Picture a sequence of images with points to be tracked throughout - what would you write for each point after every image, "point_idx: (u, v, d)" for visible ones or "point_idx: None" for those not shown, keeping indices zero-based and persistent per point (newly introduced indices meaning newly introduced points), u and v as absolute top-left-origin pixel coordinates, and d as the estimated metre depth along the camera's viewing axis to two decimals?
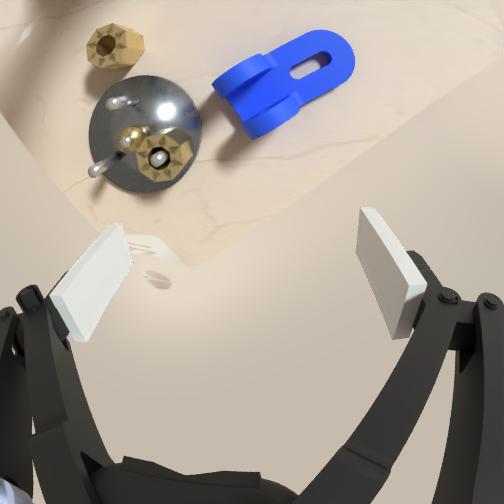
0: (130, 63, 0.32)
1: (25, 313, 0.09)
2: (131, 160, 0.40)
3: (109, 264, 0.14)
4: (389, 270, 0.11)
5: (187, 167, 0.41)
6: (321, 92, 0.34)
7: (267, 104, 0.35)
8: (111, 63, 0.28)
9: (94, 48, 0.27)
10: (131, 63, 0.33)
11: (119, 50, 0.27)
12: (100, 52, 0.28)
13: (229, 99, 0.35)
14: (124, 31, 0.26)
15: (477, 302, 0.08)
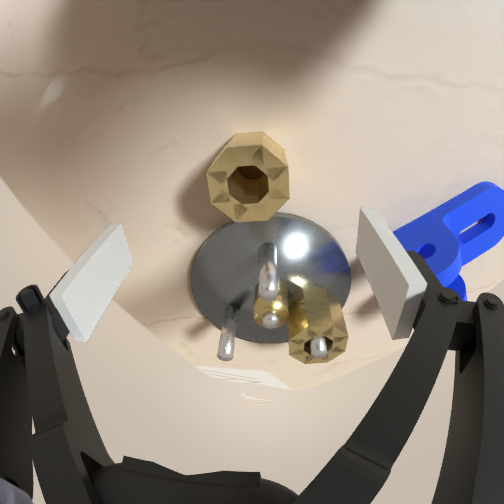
0: None
1: (25, 313, 0.09)
2: None
3: (109, 264, 0.14)
4: (389, 270, 0.11)
5: None
6: (475, 256, 0.28)
7: None
8: (258, 219, 0.23)
9: (224, 184, 0.22)
10: None
11: (274, 200, 0.22)
12: (230, 187, 0.23)
13: None
14: (286, 168, 0.21)
15: (477, 302, 0.08)
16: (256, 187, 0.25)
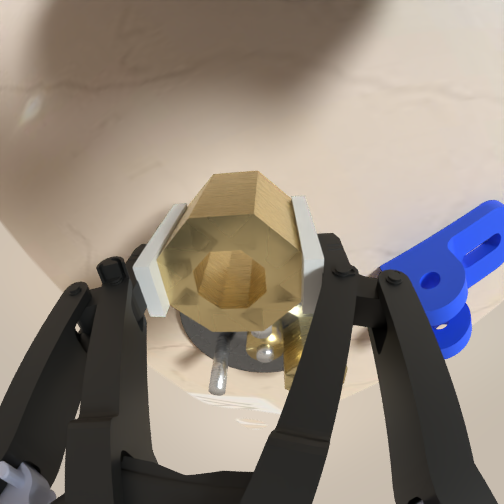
0: None
1: (104, 284, 0.11)
2: None
3: None
4: None
5: None
6: (480, 278, 0.27)
7: None
8: (249, 328, 0.14)
9: (188, 279, 0.13)
10: None
11: (276, 304, 0.13)
12: (201, 277, 0.14)
13: None
14: (298, 255, 0.12)
15: (378, 282, 0.10)
16: (247, 264, 0.16)
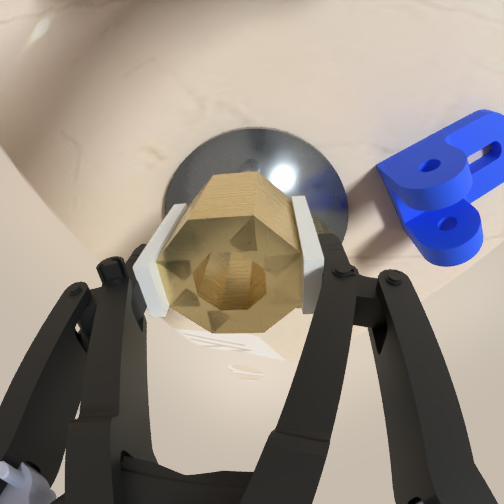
0: None
1: (104, 284, 0.11)
2: None
3: None
4: None
5: None
6: (485, 191, 0.24)
7: None
8: (249, 330, 0.14)
9: (188, 280, 0.12)
10: None
11: (276, 305, 0.13)
12: (201, 278, 0.14)
13: (394, 192, 0.25)
14: (298, 257, 0.12)
15: (378, 282, 0.10)
16: (247, 265, 0.16)
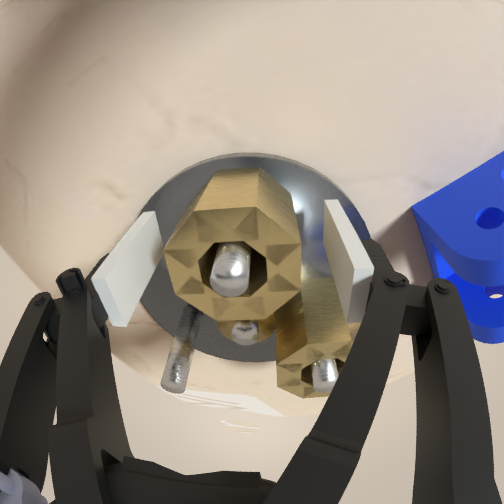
0: None
1: (64, 296, 0.10)
2: None
3: (145, 251, 0.15)
4: (342, 256, 0.12)
5: None
6: None
7: None
8: (251, 316, 0.15)
9: (193, 268, 0.13)
10: None
11: (277, 293, 0.14)
12: (205, 267, 0.14)
13: (434, 245, 0.18)
14: (298, 246, 0.12)
15: (427, 288, 0.09)
16: None
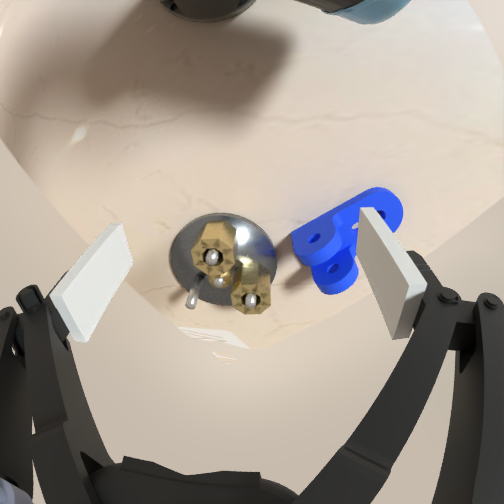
0: None
1: (25, 313, 0.09)
2: None
3: (109, 264, 0.14)
4: (389, 270, 0.11)
5: None
6: None
7: None
8: (219, 273, 0.44)
9: (200, 256, 0.42)
10: None
11: (227, 264, 0.43)
12: (204, 256, 0.43)
13: None
14: (231, 249, 0.41)
15: (477, 302, 0.08)
16: (220, 253, 0.46)
